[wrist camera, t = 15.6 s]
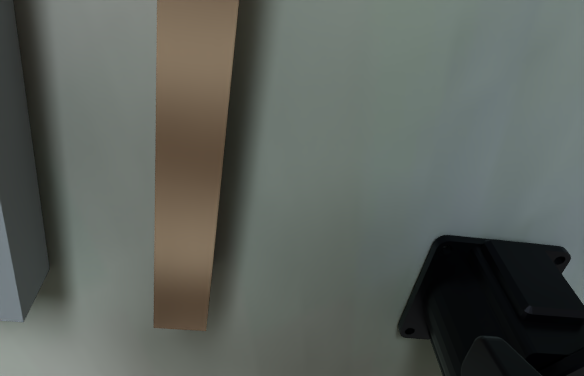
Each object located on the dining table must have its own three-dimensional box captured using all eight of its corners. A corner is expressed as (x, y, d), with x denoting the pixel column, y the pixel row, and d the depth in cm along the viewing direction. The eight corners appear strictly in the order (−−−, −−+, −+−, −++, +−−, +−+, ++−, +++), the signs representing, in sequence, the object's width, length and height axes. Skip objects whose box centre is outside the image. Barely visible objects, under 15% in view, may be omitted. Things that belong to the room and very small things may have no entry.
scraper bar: (213, 260, 23) (205, 330, 19) (168, 257, 22) (153, 327, 19) (255, -162, 14) (255, -164, 11) (182, -176, 14) (159, -183, 10)
